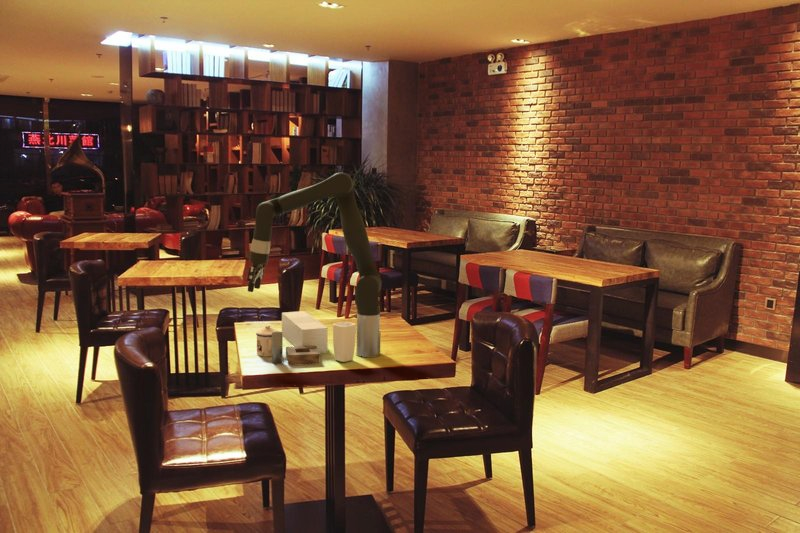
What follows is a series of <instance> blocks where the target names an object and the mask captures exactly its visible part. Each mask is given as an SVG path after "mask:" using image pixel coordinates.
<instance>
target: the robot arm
mask: <svg viewBox="0 0 800 533" xmlns="http://www.w3.org/2000/svg"><path fill="white" fill-rule="evenodd" d="M354 189H355V188H354V181H353V179H352V178H351V176H350V175H349V174H347V173H345V172H336V173H333V175H331V176H330V177H328V178H327V179H325V180H323V181H320V182H318V183H315V184H314V185H311V186H307V187H304V188H301V189H298V190H294V191H291V192H287V193H285V194H283V195H281V196H279V197H276V198H273V199H269V200H267V201H263V202H261V203H259V204H258V205H257V207H256V211H255V217H254V218H255V221H254V223H255V226H254V230H253V237H252V241H251V245H250V250H249V258H248V261H249V263H252V266H251V265H250V266H249V267H248V272H247V277H246V278H247V279H246V281H247V282H248V286H247V292H249V293H253V292H254V289H256V290H260V288H261V284H262V283H261V282H262V279H264V276H265V270H266V265H267V264H268V263H269V257H270V250H271V240H272V235H273V228H272V227H273V221H274V220H273V219H274V218H275V217H277V216H281V215H282V214H284V213H285V214H286V213H290V212H293V211H296V210H298V209H301V208H305V207H307V206H308V205H310V204H313V203H315V202H318V201H320V200H324V199H327V198H331V197H332V198H333V197H334V198H335V200H336V203H337V206H338V208H339V209H338V210H339V215H340V216H339V217H340V223H341V224H340V225H341V230H342V233H343V238H344V241H345V245H346V248H347V249H348V251H349V253H350V255H351V256H352V258H353V260H354V261H355V262H354V263H355V265H356V267H357V268H356V269H357V271H358V277H359V279H358V280H357V282H356V286H355V304H356V305H355V306H356V315H357V316H356V356H358V357H361V356H362V357H363V358H374V356H375V357H379V355H380V356H381V340H382V339H381V332H380V329H381V328H380V327H381V326H380V325H381V324H380V323H381V321H380V320H381V318H380V317H381V315H380V314H381V307H380V305H379V303H380V302H379V301H380V300H379V298H380V296H379V295H380V291H381V289H382V287H383V286H382V285H383V283H382V282H383V281H382V279H381V277H380V274H379V271H378V269H377V267H376V264H375V261H374V258H373V252H372V248H371V245H370V241H369V234H368V233H367V228H366V226H365V222H364V219H363V217H362V215H361V212H360V210H359V207H358V204H357V200H356V195H355V191H354Z"/></svg>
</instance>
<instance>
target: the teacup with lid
mask: <svg viewBox="0 0 800 533" xmlns="http://www.w3.org/2000/svg"><path fill="white" fill-rule="evenodd" d="M277 331H278V330H277V329H274V328H273V327H271V325H267V324H266V325H265V326H264V328H261V329H259V330H257V331H256V333H255V334H256V354H257V355H258V356H260V357H272V332H277Z"/></svg>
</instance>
